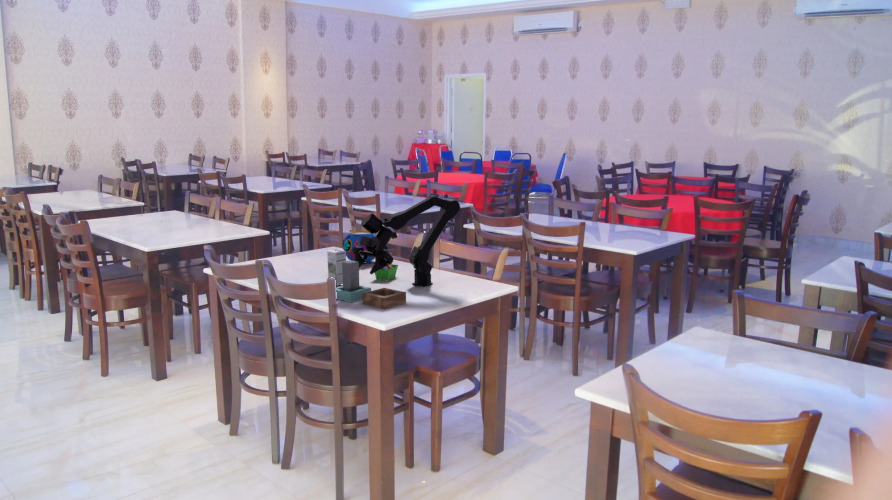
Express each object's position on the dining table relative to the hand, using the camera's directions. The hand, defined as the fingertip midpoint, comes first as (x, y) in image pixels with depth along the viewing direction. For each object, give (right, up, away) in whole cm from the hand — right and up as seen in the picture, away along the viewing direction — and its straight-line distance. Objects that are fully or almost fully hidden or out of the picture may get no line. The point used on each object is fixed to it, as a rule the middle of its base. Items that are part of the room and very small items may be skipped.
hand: (362, 272), depth 270 cm
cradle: (-4, -9, -3) cm, 11 cm away
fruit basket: (+6, -4, +30) cm, 30 cm away
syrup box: (-12, -6, +18) cm, 23 cm away
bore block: (+10, -11, -13) cm, 20 cm away
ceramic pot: (-8, +3, +64) cm, 64 cm away
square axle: (-4, -9, -3) cm, 10 cm away
